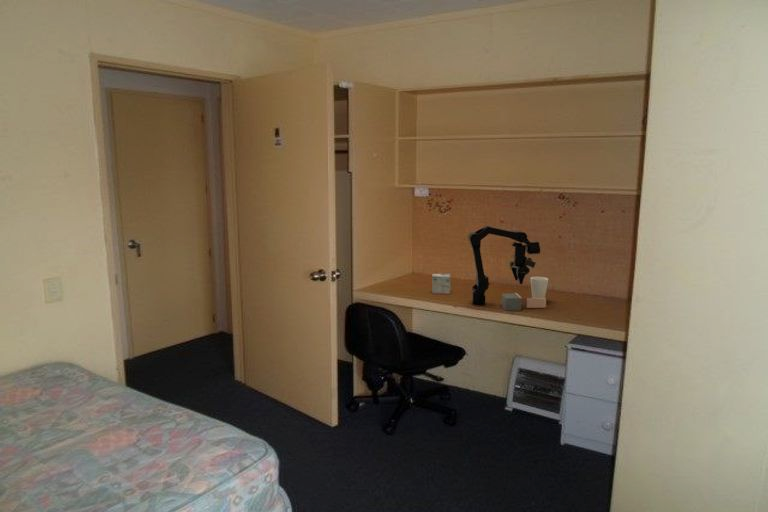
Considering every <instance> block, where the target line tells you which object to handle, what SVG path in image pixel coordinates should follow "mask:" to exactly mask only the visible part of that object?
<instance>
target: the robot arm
mask: <svg viewBox="0 0 768 512" xmlns="http://www.w3.org/2000/svg"><path fill="white" fill-rule="evenodd" d="M488 235H493V236H498V237H503V238H507V239H511V240H514V241H513V242H512V243H511V244H510V245H511V247H514V255H513V258H514V259H513V260H511V261H510V262H509V267H510V270H511V273H512V275H513V278H514V280H515V281H518V282H519V284H520V285H522V284H523V283H524V279H525V276H526V275H527V274H529V273H531V271H530V268H532V269H534V268H535V266H536V261H534V260H532V258H531V257H527V256H526V253H527V254H528V255H540V254H541V247H540V242H539V241H530V240H529V239H528V235H527V233H526V232H524V231H522V230H509V229H508V230H507V229H503V228H498V227H494V226H490V225H485V226H483V227H482V228H480V229H478V230H476V231H475V232H474V231H473V232H471V233H469V234H468V236H467V240H468V242H469V245H470V248H471V249H472V250H471V251H472V256H473V261H474V262H473V263H474V267H475V273H476V277H475V284H474V285H473V286H471V290H472V292H471V304H472V305H473V306H484V305H485V306H486V304H485V303H486V295H485V293H486V291H488V289H489V286H490V285H491V284H490V281H489V280H490V279H489V277H488V275H487V274H485V272H484V271H485V270H484V265H483V259H482V253H481V244H482V240H483V239H484V238H486V237H487V236H488ZM529 267H530V268H529Z"/></svg>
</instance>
